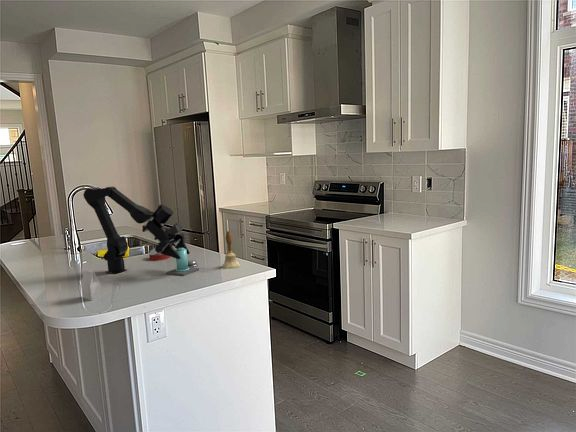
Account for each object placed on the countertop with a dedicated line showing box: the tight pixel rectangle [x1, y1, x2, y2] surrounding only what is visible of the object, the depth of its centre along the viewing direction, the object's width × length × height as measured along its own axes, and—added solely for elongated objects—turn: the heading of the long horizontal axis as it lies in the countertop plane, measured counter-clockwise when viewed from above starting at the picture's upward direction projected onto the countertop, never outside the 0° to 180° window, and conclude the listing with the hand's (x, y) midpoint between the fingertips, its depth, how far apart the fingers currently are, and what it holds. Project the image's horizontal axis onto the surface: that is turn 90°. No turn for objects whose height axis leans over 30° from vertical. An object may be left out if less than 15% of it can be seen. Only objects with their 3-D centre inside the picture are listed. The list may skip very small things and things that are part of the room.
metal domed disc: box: [187, 259, 199, 268], centre depth 204 cm, size 6×6×2 cm
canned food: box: [148, 247, 170, 262], centre depth 224 cm, size 11×10×10 cm
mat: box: [165, 267, 200, 277], centre depth 194 cm, size 10×10×1 cm
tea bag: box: [80, 269, 102, 302], centre depth 162 cm, size 4×7×10 cm, turn 51°
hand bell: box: [221, 230, 241, 269], centre depth 199 cm, size 8×8×16 cm
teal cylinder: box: [174, 248, 189, 272], centre depth 193 cm, size 6×6×10 cm
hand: (184, 256), depth 192 cm, fingers open, 9 cm apart
